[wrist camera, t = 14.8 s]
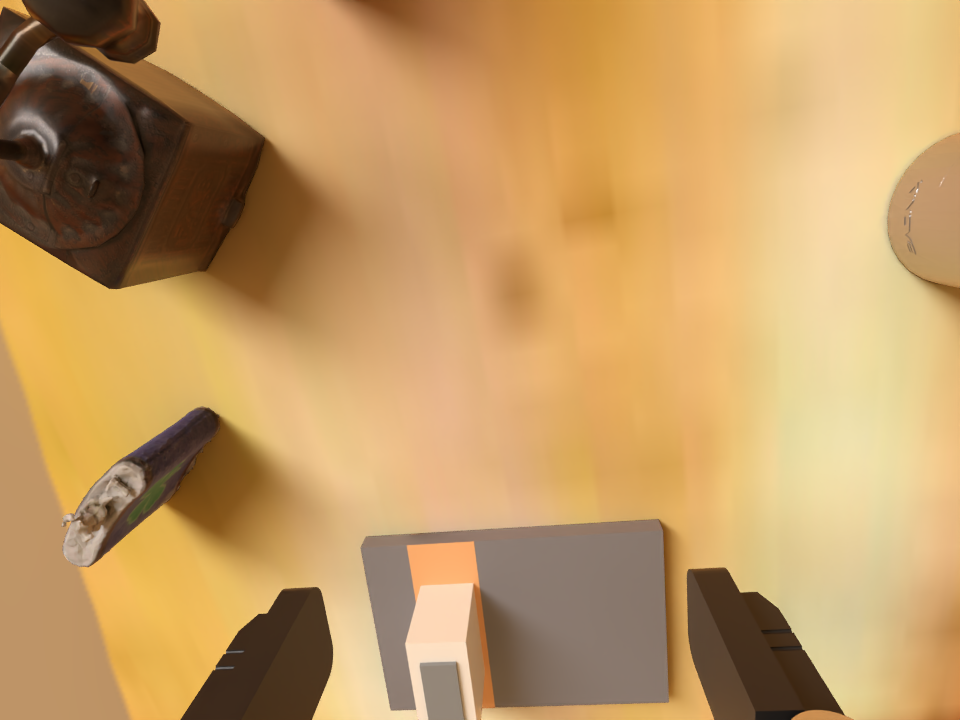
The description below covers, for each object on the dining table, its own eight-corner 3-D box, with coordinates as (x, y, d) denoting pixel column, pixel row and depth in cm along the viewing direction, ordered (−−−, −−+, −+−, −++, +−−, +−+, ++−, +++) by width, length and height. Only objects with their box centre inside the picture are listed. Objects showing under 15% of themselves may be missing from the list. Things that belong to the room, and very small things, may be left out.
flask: (168, 505, 45) (63, 594, 35) (136, 483, 45) (21, 566, 35) (228, 420, 43) (135, 488, 33) (195, 396, 43) (91, 457, 32)
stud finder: (473, 582, 43) (465, 645, 37) (484, 671, 45) (478, 743, 39) (420, 585, 44) (404, 647, 38) (434, 673, 46) (420, 745, 40)
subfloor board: (658, 519, 43) (663, 530, 41) (664, 686, 46) (668, 702, 45) (365, 536, 45) (360, 548, 43) (394, 695, 49) (390, 710, 47)
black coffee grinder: (213, 281, 40) (-20, 342, 23) (69, 193, 39) (-287, 188, 22) (315, 70, 36) (125, -46, 19) (157, -33, 35) (-195, -255, 18)
